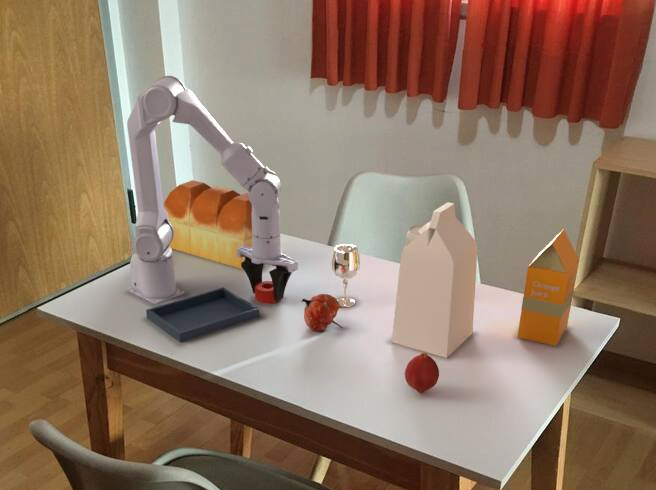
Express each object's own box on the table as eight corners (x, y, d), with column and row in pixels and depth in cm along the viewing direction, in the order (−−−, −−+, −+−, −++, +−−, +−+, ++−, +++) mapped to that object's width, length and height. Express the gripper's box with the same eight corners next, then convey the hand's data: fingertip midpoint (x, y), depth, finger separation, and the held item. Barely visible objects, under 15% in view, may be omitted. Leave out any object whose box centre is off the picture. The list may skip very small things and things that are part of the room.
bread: (278, 254, 196) (277, 193, 189) (245, 270, 188) (243, 207, 180) (200, 232, 209) (196, 174, 201) (165, 247, 200) (160, 187, 192)
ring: (250, 301, 174) (249, 287, 172) (266, 292, 177) (265, 279, 176) (270, 307, 171) (269, 293, 169) (285, 298, 175) (285, 284, 173)
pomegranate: (335, 329, 168) (296, 300, 165) (357, 306, 163) (317, 276, 161) (328, 349, 162) (288, 319, 159) (351, 326, 157) (310, 295, 155)
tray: (146, 319, 166) (145, 309, 165) (224, 296, 176) (223, 287, 174) (180, 344, 157) (179, 333, 156) (259, 318, 167) (259, 308, 165)
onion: (400, 384, 144) (403, 343, 140) (433, 383, 145) (437, 342, 141) (406, 401, 139) (410, 360, 135) (440, 400, 140) (444, 359, 136)
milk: (446, 357, 153) (460, 222, 139) (391, 342, 158) (399, 210, 144) (472, 333, 161) (487, 203, 148) (419, 319, 167) (429, 193, 153)
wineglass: (327, 305, 172) (327, 251, 166) (336, 295, 176) (337, 241, 170) (353, 310, 170) (354, 255, 164) (362, 299, 175) (364, 245, 168)
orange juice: (567, 327, 164) (585, 231, 153) (556, 346, 157) (574, 246, 146) (528, 319, 167) (543, 224, 156) (516, 337, 160) (530, 239, 150)
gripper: (226, 232, 168) (229, 293, 175) (282, 247, 160) (283, 310, 167) (248, 222, 172) (250, 282, 179) (303, 237, 165) (304, 299, 172)
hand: (267, 295), depth 174 cm, fingers closed on ring, 5 cm apart
